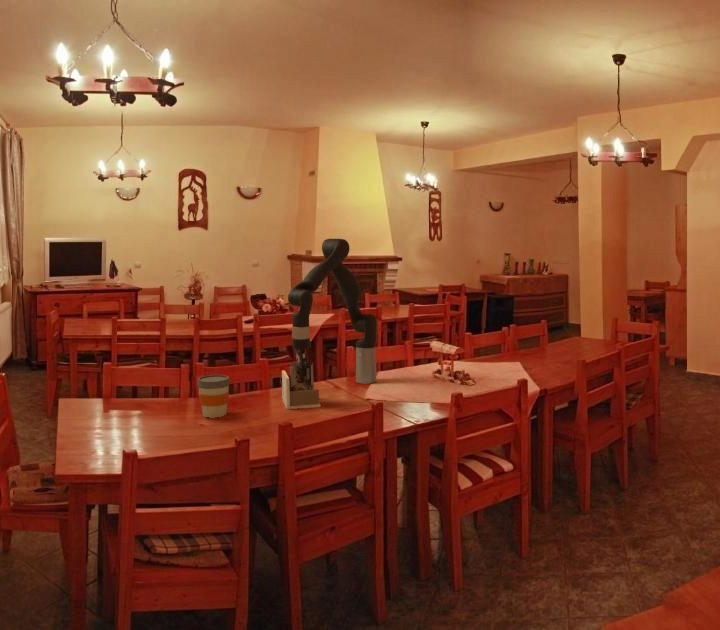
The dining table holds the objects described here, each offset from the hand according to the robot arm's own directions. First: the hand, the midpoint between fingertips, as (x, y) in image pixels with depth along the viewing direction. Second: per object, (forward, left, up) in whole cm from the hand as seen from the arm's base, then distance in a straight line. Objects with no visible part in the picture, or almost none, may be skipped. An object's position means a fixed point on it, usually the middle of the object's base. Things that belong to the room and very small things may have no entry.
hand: (301, 374), depth 269 cm
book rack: (+1, 0, -12) cm, 12 cm away
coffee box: (0, 0, -12) cm, 12 cm away
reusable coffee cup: (+37, +8, -13) cm, 40 cm away
